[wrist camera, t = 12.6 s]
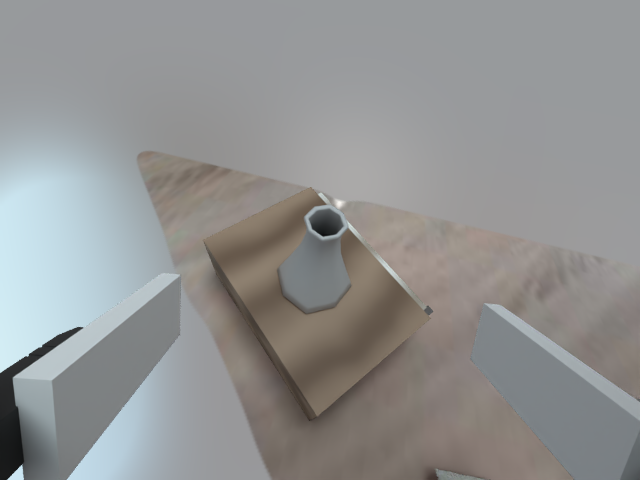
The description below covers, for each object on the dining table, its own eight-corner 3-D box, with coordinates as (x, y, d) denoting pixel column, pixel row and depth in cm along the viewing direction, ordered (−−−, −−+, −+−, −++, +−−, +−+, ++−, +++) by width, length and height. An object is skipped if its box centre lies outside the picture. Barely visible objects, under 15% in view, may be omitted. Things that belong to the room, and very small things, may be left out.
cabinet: (413, 330, 38) (442, 308, 31) (309, 420, 32) (317, 416, 25) (316, 219, 45) (322, 181, 38) (216, 273, 39) (203, 240, 32)
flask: (303, 328, 28) (312, 283, 20) (264, 267, 31) (259, 206, 23) (363, 289, 31) (394, 236, 23) (323, 237, 34) (337, 172, 26)
